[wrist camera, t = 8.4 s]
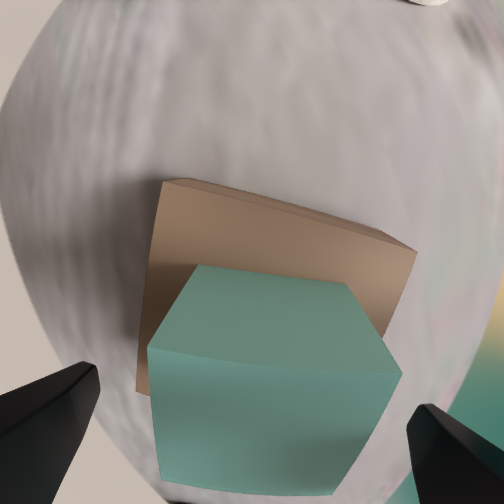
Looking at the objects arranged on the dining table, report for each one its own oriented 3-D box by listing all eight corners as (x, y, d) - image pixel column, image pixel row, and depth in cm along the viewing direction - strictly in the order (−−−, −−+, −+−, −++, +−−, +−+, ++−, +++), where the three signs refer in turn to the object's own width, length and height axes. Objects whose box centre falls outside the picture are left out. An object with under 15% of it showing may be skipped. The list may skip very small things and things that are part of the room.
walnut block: (317, 381, 16) (329, 432, 12) (160, 345, 16) (135, 391, 12) (379, 229, 14) (417, 252, 10) (190, 177, 13) (162, 181, 9)
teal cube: (313, 394, 11) (331, 495, 7) (191, 380, 11) (161, 479, 7) (346, 284, 10) (402, 373, 5) (198, 264, 10) (147, 346, 5)
